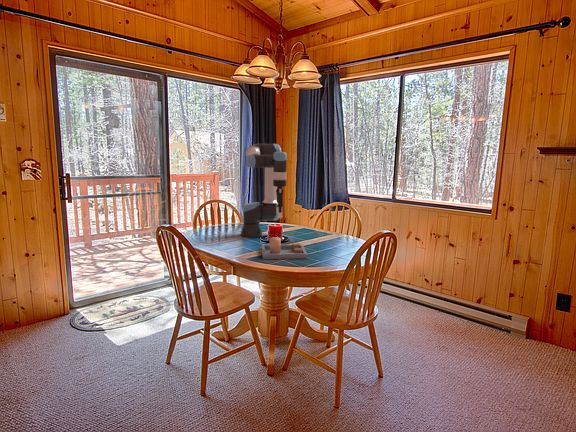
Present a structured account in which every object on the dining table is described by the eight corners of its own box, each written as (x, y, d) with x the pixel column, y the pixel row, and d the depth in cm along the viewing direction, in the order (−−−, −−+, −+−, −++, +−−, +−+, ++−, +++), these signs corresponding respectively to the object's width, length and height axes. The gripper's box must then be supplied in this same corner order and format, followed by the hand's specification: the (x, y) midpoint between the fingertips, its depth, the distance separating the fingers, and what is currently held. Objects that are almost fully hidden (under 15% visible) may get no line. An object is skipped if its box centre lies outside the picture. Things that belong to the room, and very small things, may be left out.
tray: (261, 249, 223) (261, 244, 223) (302, 249, 226) (302, 244, 225) (262, 259, 203) (262, 254, 202) (307, 259, 205) (307, 254, 205)
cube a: (291, 250, 221) (292, 243, 221) (298, 249, 222) (298, 243, 222) (293, 251, 217) (293, 245, 217) (300, 251, 219) (300, 245, 218)
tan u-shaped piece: (269, 251, 217) (269, 237, 215) (280, 251, 217) (280, 237, 216) (269, 254, 210) (269, 239, 209) (280, 254, 211) (281, 239, 209)
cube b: (295, 254, 212) (295, 247, 212) (301, 254, 212) (302, 248, 211) (294, 256, 208) (294, 249, 208) (301, 256, 208) (301, 250, 207)
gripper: (272, 177, 220) (272, 211, 224) (274, 181, 196) (273, 220, 200) (284, 177, 221) (284, 211, 225) (287, 181, 196) (287, 220, 200)
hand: (279, 215), depth 212 cm, fingers open, 13 cm apart
